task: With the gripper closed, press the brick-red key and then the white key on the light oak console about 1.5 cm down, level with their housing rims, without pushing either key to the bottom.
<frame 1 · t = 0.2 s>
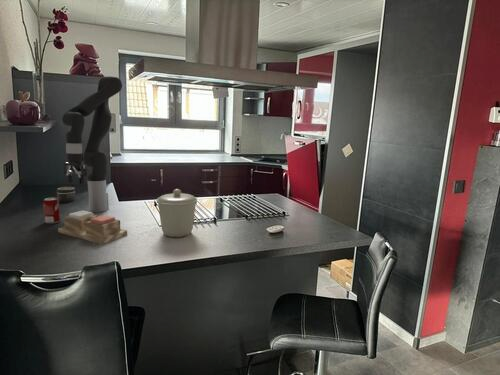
hand: (75, 183, 181), 17 cm above the countertop, tool pointing down, fingers open, 8 cm apart
jar: (66, 200, 216), on the countertop
red key: (102, 221, 154), point 7 cm above the countertop, slide at 0.0 cm
soda can: (52, 222, 173), on the countertop
canister: (177, 234, 162), on the countertop
console: (92, 233, 158), on the countertop
white key: (81, 216, 160), point 7 cm above the countertop, slide at 0.0 cm
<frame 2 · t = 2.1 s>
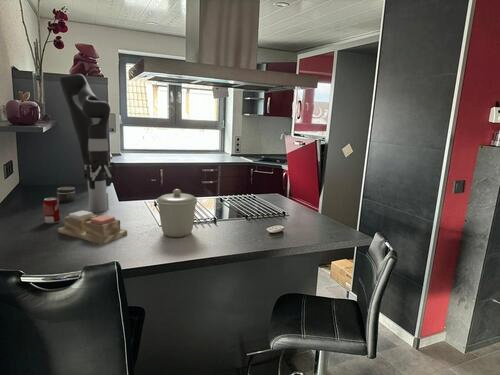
hand: (100, 187, 151), 22 cm above the countertop, tool pointing down, fingers open, 7 cm apart
nothing on the countertop moved.
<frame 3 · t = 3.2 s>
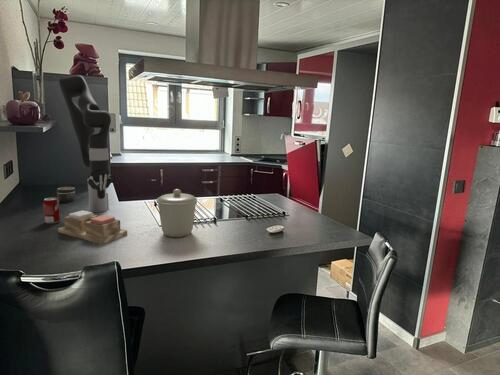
hand: (101, 198, 152), 17 cm above the countertop, tool pointing down, fingers closed
nothing on the countertop moved.
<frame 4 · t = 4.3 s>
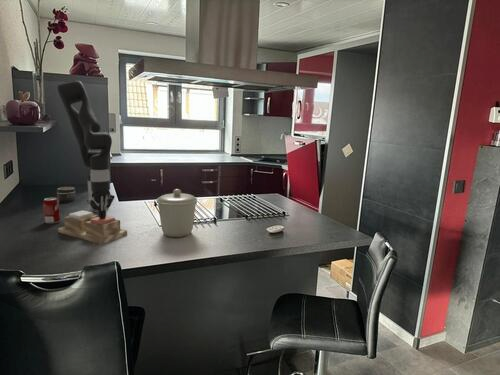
hand: (102, 218, 154), 8 cm above the countertop, tool pointing down, fingers closed
red key: (102, 221, 154), point 7 cm above the countertop, slide at 0.2 cm, touching gripper
everything else where it was.
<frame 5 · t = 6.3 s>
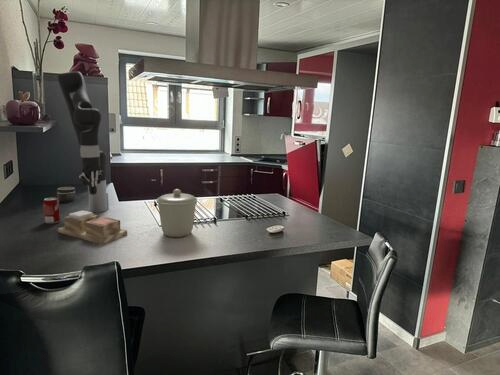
hand: (93, 194, 156), 18 cm above the countertop, tool pointing down, fingers closed
red key: (103, 224, 154), point 6 cm above the countertop, slide at 1.5 cm
everything else where it was.
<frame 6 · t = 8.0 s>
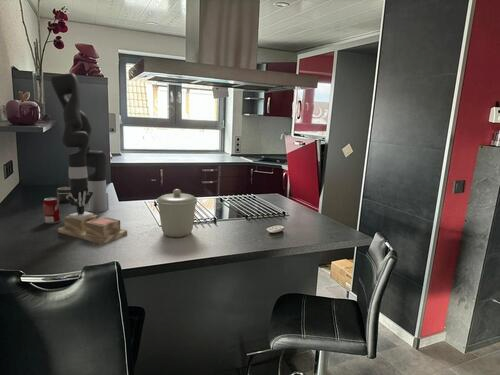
hand: (80, 213, 160), 8 cm above the countertop, tool pointing down, fingers closed
white key: (81, 216, 160), point 7 cm above the countertop, slide at 0.3 cm, touching gripper
everything else where it was.
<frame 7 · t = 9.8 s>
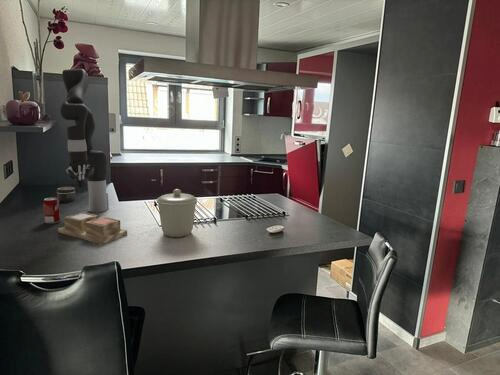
hand: (80, 187, 160), 20 cm above the countertop, tool pointing down, fingers closed
white key: (81, 219, 160), point 5 cm above the countertop, slide at 1.6 cm
everything else where it was.
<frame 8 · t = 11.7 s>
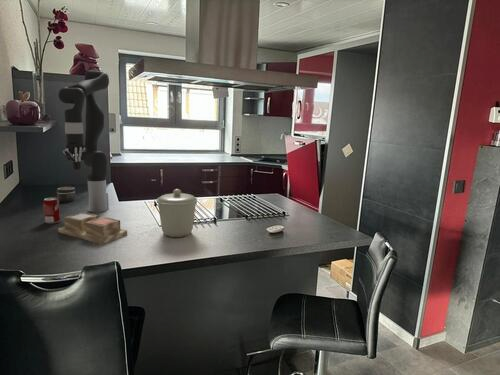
hand: (76, 169, 165), 27 cm above the countertop, tool pointing down, fingers closed
nothing on the countertop moved.
at the end: red key slide at 1.5 cm; white key slide at 1.6 cm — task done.
